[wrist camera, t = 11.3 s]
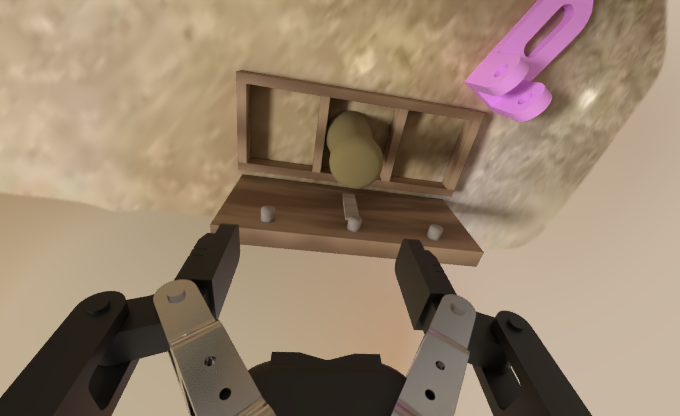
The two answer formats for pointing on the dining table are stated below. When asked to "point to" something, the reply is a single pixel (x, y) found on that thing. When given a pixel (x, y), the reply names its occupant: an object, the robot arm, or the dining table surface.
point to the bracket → (526, 60)
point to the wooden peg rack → (347, 189)
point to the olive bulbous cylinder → (353, 150)
